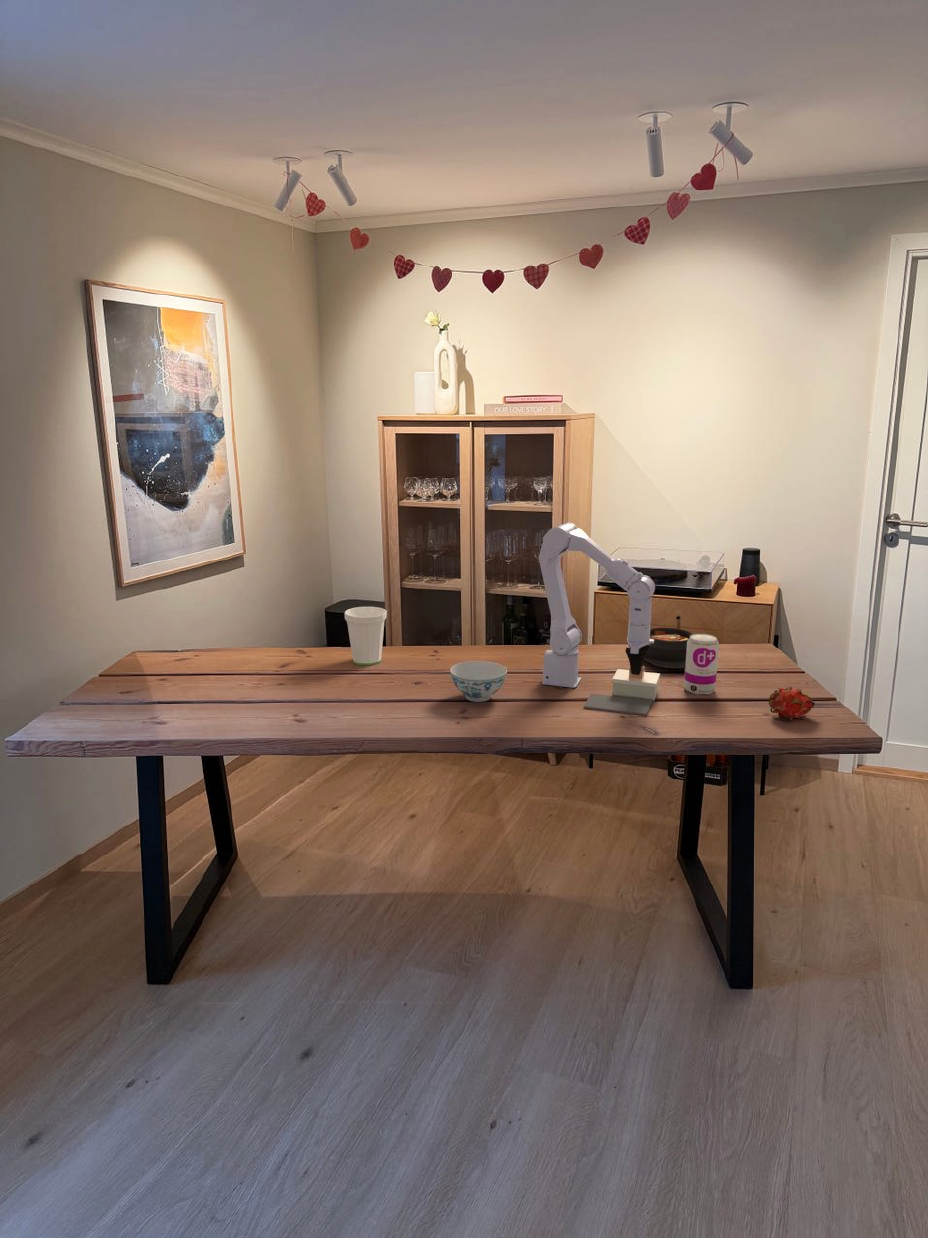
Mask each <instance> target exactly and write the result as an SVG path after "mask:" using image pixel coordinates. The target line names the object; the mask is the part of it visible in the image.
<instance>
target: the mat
mask: <svg viewBox="0 0 928 1238" xmlns="http://www.w3.org/2000/svg"><path fill="white" fill-rule="evenodd" d="M652 704H653V701H651V700H643V699H634V698H626V697H617V696H612V695H609V694H608V695H607V694H598V693H590V695H589V697H588V698H587V700H586V702H585V703H584V704H583V709H586V710H587V709H588V710H595V711H604V712H611V713H612V712H613V713H621V714H628V715H636V716H637V715H638V716H645V717H647V716H648V714H649V710H650V708H651V705H652Z"/></svg>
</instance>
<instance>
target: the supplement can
mask: <svg viewBox="0 0 928 1238" xmlns="http://www.w3.org/2000/svg"><path fill="white" fill-rule="evenodd" d="M719 649H720V643H719V640H718V638H717V636H714V635H711V634H707V633H693V635H691V636H690V638H689V640H688V641H687V652H686V665H685V668H684V682H683V688H684V689H685V690H686V691H687V690H688V691H689V692H688V691H687V692H688V693H690V692H692V693H691V694H693V693H696V694H695V695H698V694H707V695H711V694H712V693H713V692H715V691H716V683H717V674H718V673H717V672H718V662H719V661H718V660H719Z"/></svg>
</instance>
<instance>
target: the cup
mask: <svg viewBox="0 0 928 1238" xmlns="http://www.w3.org/2000/svg"><path fill="white" fill-rule="evenodd" d="M386 619H387V609H384V607H383V608H382V607H378V606H358V607H352V608H349V609H346V610H345V611H344V620H345V621H346V623H347V629H348V637H349V643H350V649H351V656H352V663H354V664H356V665H359V666H373V665H377V664H379V663H381V662H382V654H383V652H382V651H383V641H384V632H385V631H384V628H385V621H386Z"/></svg>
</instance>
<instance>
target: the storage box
mask: <svg viewBox="0 0 928 1238" xmlns="http://www.w3.org/2000/svg"><path fill="white" fill-rule="evenodd" d="M659 681H660V680H659ZM659 681H658V683H657V686H656V687H649V686H640V685H631V684H622V683H614V682H612V694H611V696H617V697H626V698H634V699H643V700H651V701H652V702H655V701H656V698H657V695H658V693H657V692H659ZM656 694H657V695H656ZM655 697H656V698H655Z"/></svg>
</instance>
